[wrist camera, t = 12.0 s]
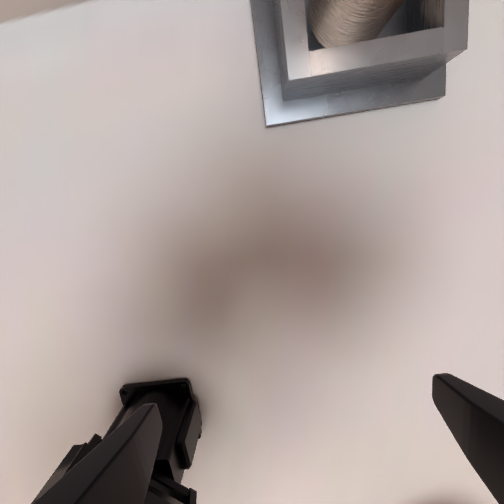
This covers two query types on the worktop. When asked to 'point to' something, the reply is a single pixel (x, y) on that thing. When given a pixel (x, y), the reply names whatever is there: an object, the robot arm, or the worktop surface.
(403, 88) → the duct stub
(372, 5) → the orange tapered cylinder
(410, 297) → the worktop surface
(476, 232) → the worktop surface
